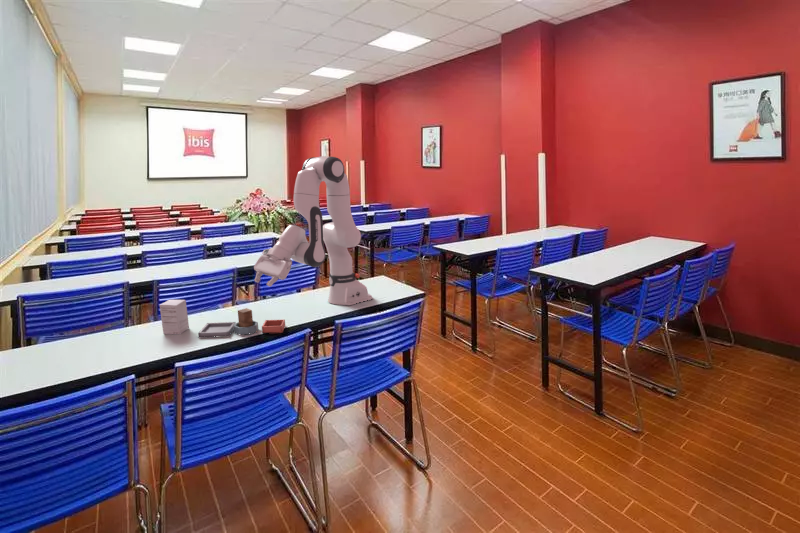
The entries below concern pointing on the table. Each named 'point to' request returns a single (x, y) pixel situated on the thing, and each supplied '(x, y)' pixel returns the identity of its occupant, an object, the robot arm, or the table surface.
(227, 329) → the slate tray
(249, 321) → the walnut block
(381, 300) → the table surface
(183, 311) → the supplement box
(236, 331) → the grey octagonal bowl
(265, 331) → the bin
